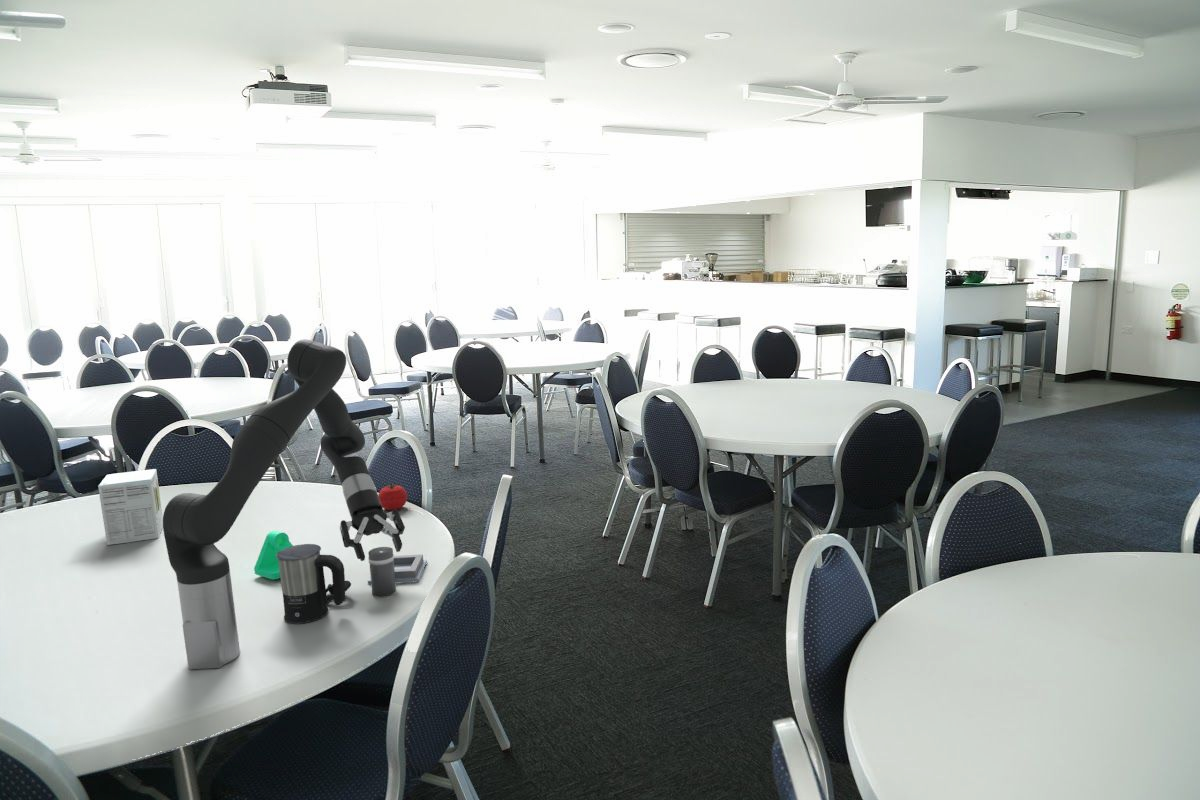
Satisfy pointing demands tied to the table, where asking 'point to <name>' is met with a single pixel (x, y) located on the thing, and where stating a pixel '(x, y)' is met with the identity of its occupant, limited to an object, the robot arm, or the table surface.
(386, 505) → the tomato
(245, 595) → the table surface
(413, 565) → the collar plate
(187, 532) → the robot arm
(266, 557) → the camera mount
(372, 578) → the grey canister
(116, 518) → the supplement box
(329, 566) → the milk frother
